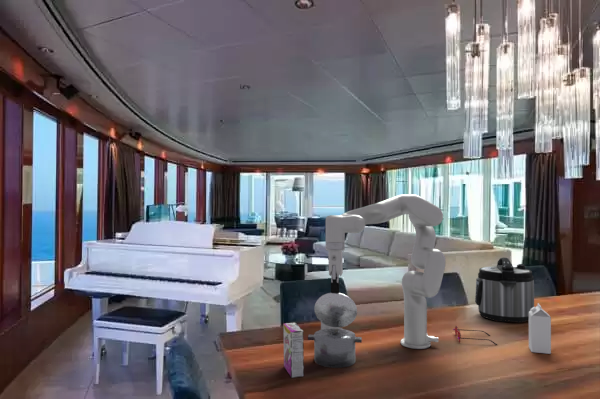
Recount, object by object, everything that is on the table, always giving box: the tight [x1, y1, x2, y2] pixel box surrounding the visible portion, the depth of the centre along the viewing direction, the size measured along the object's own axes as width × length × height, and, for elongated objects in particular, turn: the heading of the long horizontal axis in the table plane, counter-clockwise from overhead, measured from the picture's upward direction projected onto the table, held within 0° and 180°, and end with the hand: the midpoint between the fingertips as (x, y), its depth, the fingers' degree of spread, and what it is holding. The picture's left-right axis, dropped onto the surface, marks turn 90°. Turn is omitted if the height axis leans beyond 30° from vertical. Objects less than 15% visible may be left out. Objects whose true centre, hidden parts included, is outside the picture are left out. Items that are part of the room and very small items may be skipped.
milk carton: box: [528, 302, 552, 355], centre depth 183 cm, size 7×7×19 cm
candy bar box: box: [282, 322, 305, 379], centre depth 160 cm, size 11×5×16 cm, turn 17°
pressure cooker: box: [474, 257, 535, 323], centre depth 235 cm, size 30×28×32 cm
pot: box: [307, 327, 363, 369], centre depth 173 cm, size 21×17×10 cm
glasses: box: [452, 325, 498, 346], centre depth 198 cm, size 14×16×5 cm
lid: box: [314, 292, 358, 328], centre depth 177 cm, size 17×17×2 cm
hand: (335, 292), depth 174 cm, fingers closed
